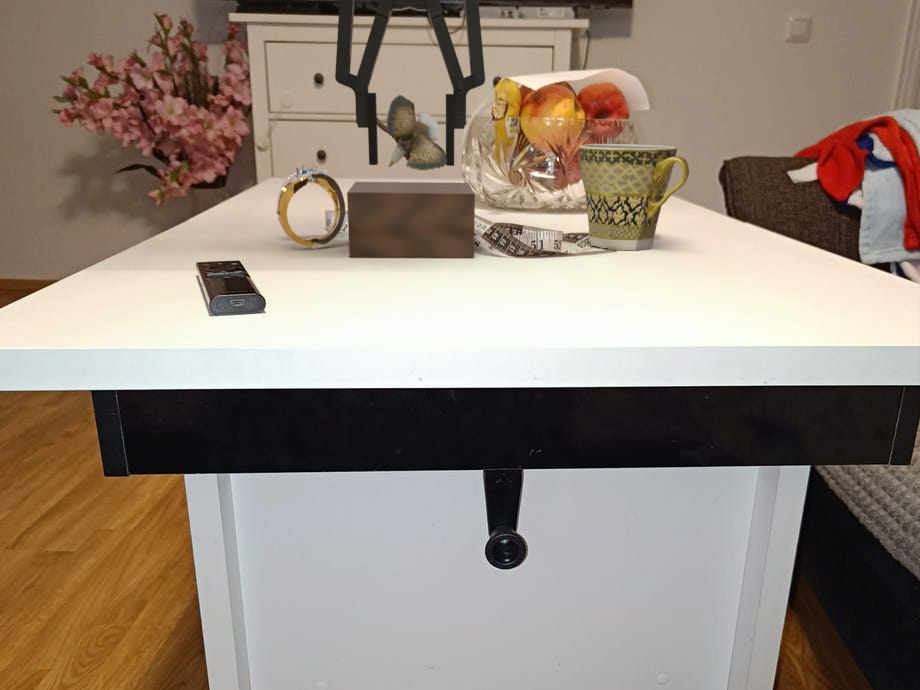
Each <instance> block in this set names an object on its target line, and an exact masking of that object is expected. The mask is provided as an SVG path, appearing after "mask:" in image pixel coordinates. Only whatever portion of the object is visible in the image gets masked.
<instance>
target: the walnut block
mask: <svg viewBox="0 0 920 690" xmlns="http://www.w3.org/2000/svg"><path fill="white" fill-rule="evenodd" d="M346 199H347V200H346V202H347V225H348V227H347V228H348V252H349V253H348V255H349V258H409V259H410V258H415V259H416V258H417V259H418V258H423V259H424V258H426V259H427V258H428V259H429V258H431V259H433V258H434V259H439V258H440V259H443V258H444V259H474V258H475V225H476V224H475V220H476V219H475V218H476V217H475V215H476V214H475V213H476V194H475V192H474V190H473V188H472V187H471V185H470V183H469V182H427V181H426V182H421V181H418V182H417V181H416V182H415V181H413V182H412V181H409V182H408V181H354V183H353V184H352V186H351V187H350V188H349V189H348V190H347V192H346Z"/></svg>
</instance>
